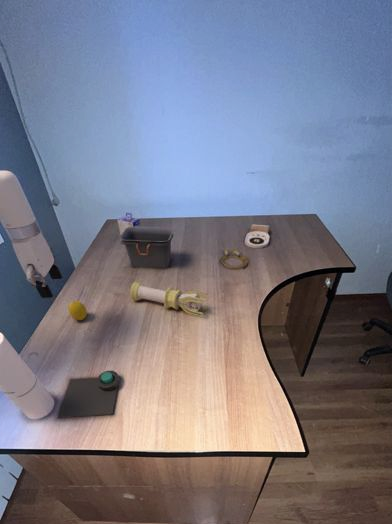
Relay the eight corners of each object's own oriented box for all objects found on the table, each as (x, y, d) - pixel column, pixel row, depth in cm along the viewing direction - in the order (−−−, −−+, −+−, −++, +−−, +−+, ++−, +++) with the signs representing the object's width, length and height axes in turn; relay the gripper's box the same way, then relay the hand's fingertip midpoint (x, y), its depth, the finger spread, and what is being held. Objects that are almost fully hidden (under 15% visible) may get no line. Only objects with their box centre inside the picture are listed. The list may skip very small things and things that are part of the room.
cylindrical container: (32, 397, 73) (-26, 332, 55) (58, 396, 73) (9, 329, 55) (22, 421, 68) (-45, 358, 50) (50, 419, 69) (-7, 355, 50)
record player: (271, 226, 139) (267, 243, 126) (270, 231, 141) (266, 249, 128) (249, 224, 141) (243, 241, 128) (248, 230, 144) (242, 247, 131)
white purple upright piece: (144, 243, 136) (138, 213, 126) (137, 248, 133) (131, 217, 122) (129, 239, 140) (122, 210, 129) (122, 244, 136) (115, 214, 126)
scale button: (101, 384, 73) (99, 381, 71) (103, 375, 75) (102, 372, 73) (112, 383, 73) (111, 380, 71) (114, 375, 75) (112, 371, 74)
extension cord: (250, 254, 125) (250, 250, 124) (244, 271, 115) (245, 267, 113) (225, 251, 128) (225, 247, 126) (217, 268, 117) (217, 264, 116)
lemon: (70, 323, 95) (61, 305, 89) (79, 313, 98) (71, 295, 92) (84, 326, 93) (75, 308, 88) (92, 316, 97) (85, 298, 91)
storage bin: (177, 257, 125) (174, 227, 114) (171, 275, 114) (167, 243, 104) (133, 256, 127) (127, 226, 117) (123, 273, 117) (115, 241, 106)
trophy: (125, 286, 96) (203, 302, 87) (136, 275, 100) (211, 290, 92) (130, 304, 102) (203, 321, 93) (140, 294, 106) (211, 309, 98)
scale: (59, 419, 69) (54, 413, 66) (72, 379, 77) (69, 372, 75) (115, 416, 69) (112, 410, 67) (122, 376, 78) (119, 369, 75)
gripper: (21, 217, 73) (48, 273, 85) (-7, 246, 61) (29, 306, 73) (49, 215, 73) (72, 271, 85) (26, 244, 61) (57, 304, 73)
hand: (52, 287), depth 79 cm, fingers open, 9 cm apart
